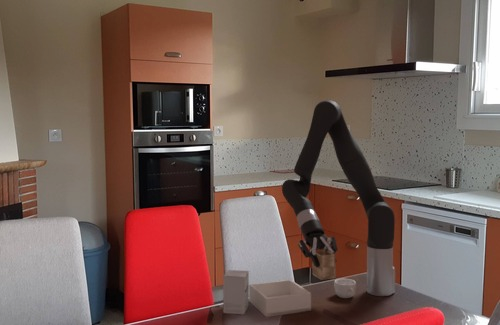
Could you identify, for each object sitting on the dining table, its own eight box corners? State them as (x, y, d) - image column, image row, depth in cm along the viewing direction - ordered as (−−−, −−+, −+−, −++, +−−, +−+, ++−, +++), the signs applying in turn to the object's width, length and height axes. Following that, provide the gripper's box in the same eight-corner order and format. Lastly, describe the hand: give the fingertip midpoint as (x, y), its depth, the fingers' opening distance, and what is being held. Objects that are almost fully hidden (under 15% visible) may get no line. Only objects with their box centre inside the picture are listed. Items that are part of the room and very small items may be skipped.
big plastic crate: (290, 295, 182) (290, 279, 182) (310, 310, 167) (311, 293, 167) (249, 301, 177) (249, 284, 176) (266, 317, 162) (266, 298, 161)
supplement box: (244, 314, 164) (244, 276, 163) (222, 313, 165) (222, 275, 165) (249, 307, 171) (249, 270, 170) (228, 305, 173) (227, 269, 172)
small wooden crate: (326, 272, 177) (326, 250, 177) (335, 277, 171) (335, 254, 171) (312, 274, 176) (312, 252, 175) (321, 279, 169) (320, 256, 169)
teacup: (330, 294, 184) (330, 279, 184) (349, 292, 186) (349, 277, 186) (343, 303, 175) (343, 287, 174) (362, 300, 177) (362, 285, 176)
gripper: (294, 220, 177) (310, 262, 166) (330, 216, 182) (348, 257, 171) (288, 232, 182) (304, 273, 172) (324, 228, 187) (341, 268, 176)
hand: (326, 265), depth 171 cm, fingers closed on small wooden crate, 5 cm apart
